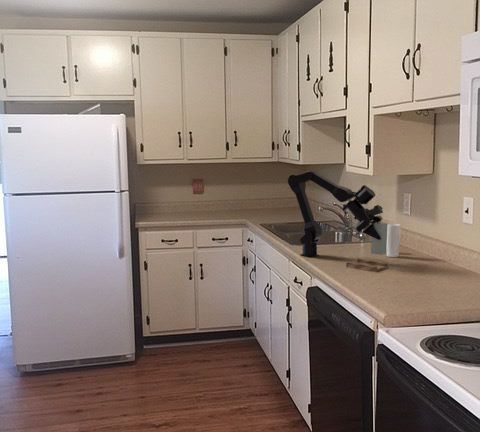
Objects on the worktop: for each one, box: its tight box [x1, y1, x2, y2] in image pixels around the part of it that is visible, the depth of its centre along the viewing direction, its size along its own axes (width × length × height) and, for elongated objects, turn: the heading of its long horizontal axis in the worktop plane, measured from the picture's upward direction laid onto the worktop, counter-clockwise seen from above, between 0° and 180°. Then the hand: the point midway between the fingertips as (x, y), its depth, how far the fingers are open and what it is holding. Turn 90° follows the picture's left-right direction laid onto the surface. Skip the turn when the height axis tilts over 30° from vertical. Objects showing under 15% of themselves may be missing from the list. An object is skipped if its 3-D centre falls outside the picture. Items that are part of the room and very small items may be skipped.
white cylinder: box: [386, 223, 402, 258], centre depth 253 cm, size 7×7×15 cm
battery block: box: [370, 221, 389, 256], centre depth 237 cm, size 5×5×14 cm
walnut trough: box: [345, 258, 388, 273], centre depth 232 cm, size 14×10×2 cm
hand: (382, 238), depth 236 cm, fingers closed on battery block, 5 cm apart
